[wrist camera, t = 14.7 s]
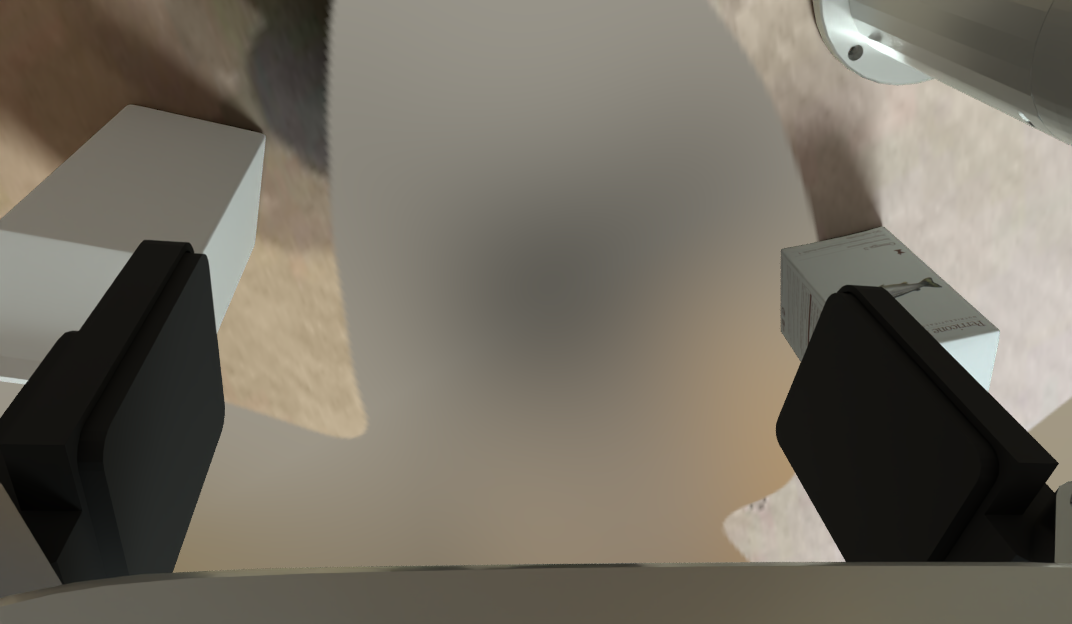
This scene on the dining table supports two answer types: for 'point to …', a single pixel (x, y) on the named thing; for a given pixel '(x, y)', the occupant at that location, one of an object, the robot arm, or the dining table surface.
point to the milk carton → (124, 222)
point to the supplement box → (902, 274)
